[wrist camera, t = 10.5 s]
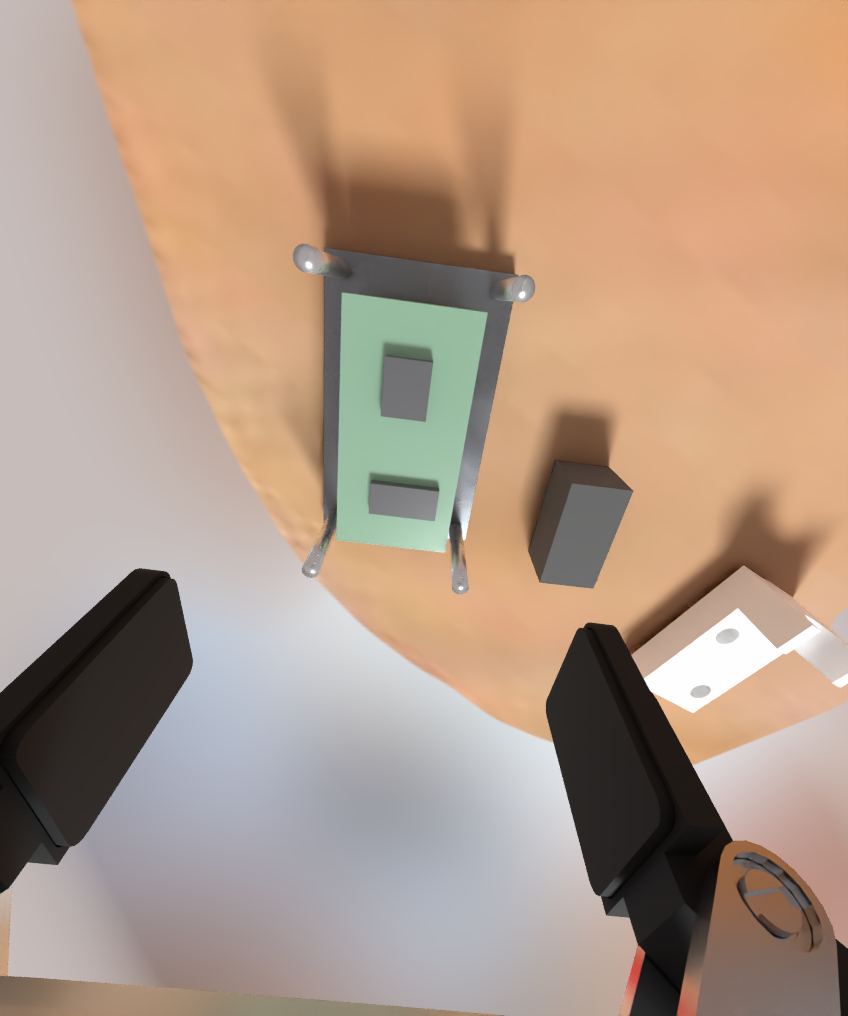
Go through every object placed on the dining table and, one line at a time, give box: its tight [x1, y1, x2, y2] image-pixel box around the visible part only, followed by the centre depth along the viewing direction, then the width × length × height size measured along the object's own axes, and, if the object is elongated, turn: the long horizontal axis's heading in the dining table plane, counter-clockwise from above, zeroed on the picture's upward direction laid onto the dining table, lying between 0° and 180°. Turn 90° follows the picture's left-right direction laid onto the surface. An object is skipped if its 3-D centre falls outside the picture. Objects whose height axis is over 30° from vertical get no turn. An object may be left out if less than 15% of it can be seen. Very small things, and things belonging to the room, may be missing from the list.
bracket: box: [631, 565, 848, 713], centre depth 33 cm, size 13×7×8 cm, turn 148°
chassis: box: [293, 244, 535, 594], centre depth 24 cm, size 18×11×8 cm, turn 173°
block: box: [528, 461, 633, 588], centre depth 29 cm, size 8×4×4 cm, turn 173°
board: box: [336, 292, 488, 553], centre depth 23 cm, size 14×7×3 cm, turn 173°
